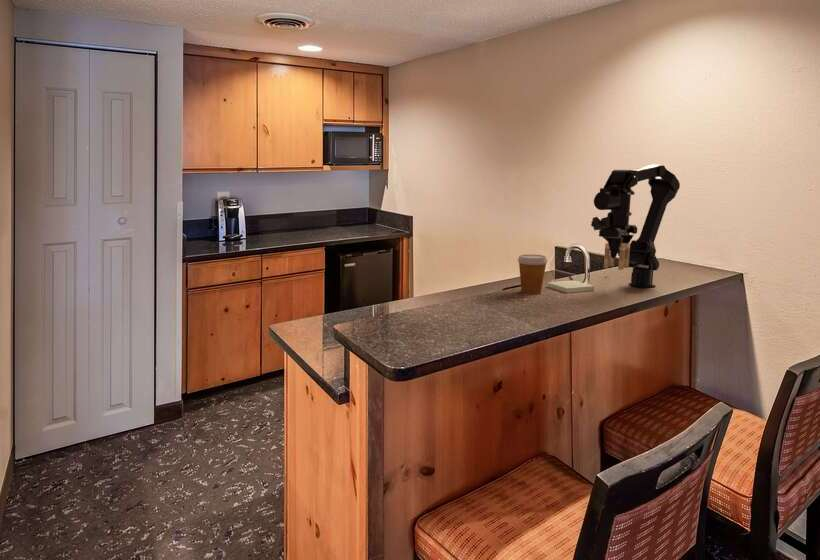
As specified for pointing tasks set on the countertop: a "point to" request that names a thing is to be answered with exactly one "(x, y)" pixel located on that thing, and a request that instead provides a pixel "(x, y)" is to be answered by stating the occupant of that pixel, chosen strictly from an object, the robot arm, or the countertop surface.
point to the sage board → (570, 286)
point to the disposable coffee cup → (532, 273)
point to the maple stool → (622, 256)
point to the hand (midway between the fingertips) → (616, 257)
